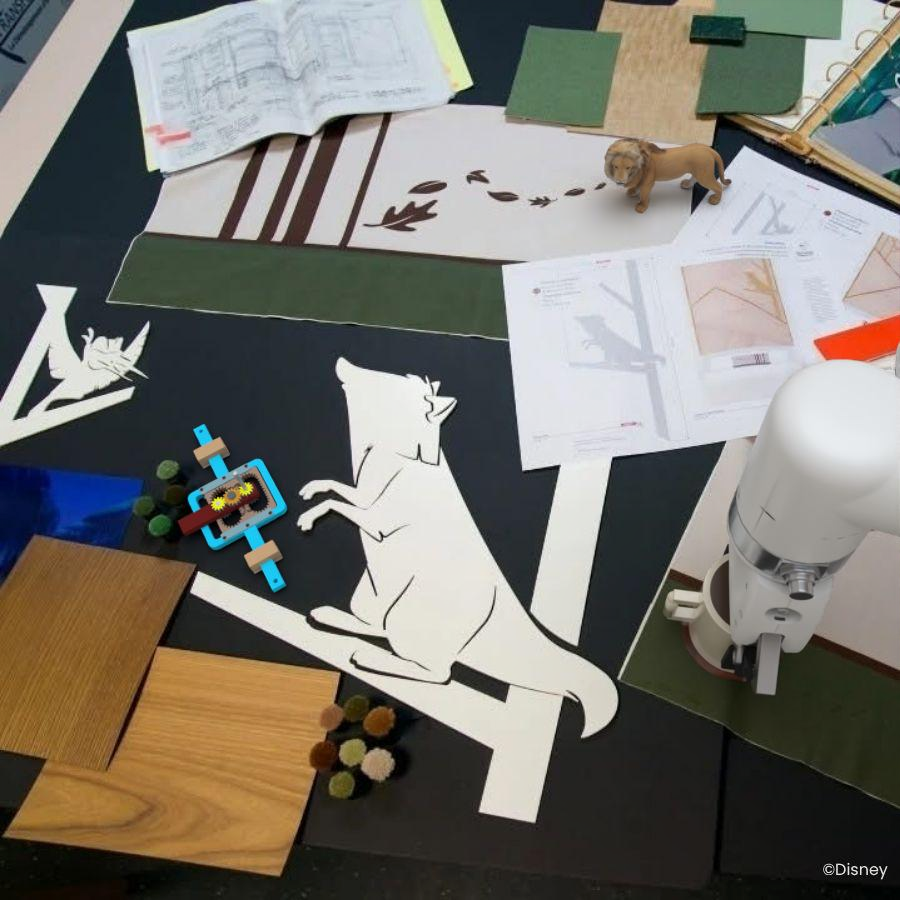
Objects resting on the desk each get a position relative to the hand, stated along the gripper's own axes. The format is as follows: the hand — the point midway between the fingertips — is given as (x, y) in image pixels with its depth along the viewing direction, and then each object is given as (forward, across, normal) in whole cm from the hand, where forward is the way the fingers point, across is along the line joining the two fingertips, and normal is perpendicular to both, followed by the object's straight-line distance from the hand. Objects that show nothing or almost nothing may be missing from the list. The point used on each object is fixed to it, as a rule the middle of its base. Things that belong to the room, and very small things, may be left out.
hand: (740, 616), depth 67 cm
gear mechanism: (+5, +7, +46) cm, 46 cm away
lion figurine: (+5, +49, +7) cm, 50 cm away
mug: (+3, 0, +1) cm, 3 cm away
